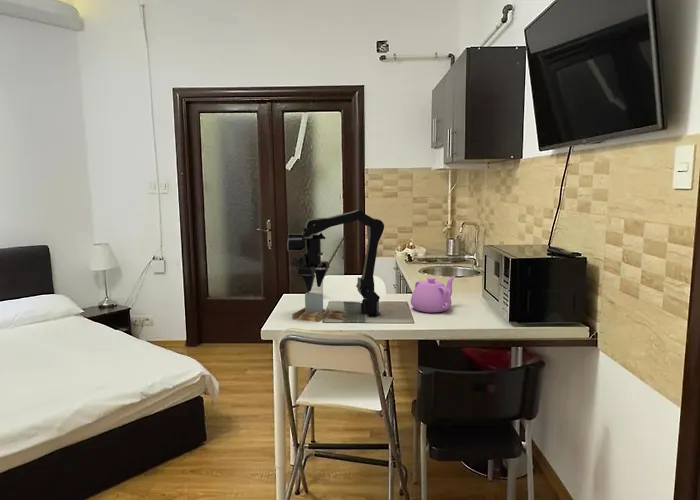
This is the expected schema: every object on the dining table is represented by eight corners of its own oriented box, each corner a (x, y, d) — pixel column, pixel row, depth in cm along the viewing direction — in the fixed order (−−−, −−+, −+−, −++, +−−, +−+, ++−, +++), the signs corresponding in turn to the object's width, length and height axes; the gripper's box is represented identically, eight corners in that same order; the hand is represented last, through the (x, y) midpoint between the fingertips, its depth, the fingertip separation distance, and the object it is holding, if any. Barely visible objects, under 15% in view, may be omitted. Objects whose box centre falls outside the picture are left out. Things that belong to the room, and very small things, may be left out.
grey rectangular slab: (323, 315, 210) (322, 293, 209) (321, 316, 208) (321, 294, 207) (307, 314, 213) (307, 292, 212) (305, 315, 211) (305, 293, 210)
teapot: (471, 311, 221) (472, 279, 219) (431, 317, 210) (432, 284, 208) (437, 301, 240) (438, 271, 238) (399, 306, 229) (399, 275, 227)
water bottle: (326, 298, 244) (325, 245, 241) (315, 301, 240) (314, 247, 237) (314, 295, 251) (313, 244, 247) (303, 298, 246) (302, 245, 243)
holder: (346, 318, 209) (346, 311, 208) (341, 321, 204) (341, 314, 203) (332, 317, 211) (332, 310, 210) (327, 320, 206) (327, 313, 205)
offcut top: (319, 315, 207) (319, 312, 207) (316, 317, 203) (316, 315, 203) (304, 314, 209) (304, 311, 208) (301, 316, 204) (301, 314, 204)
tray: (329, 317, 211) (329, 309, 211) (318, 323, 201) (318, 316, 200) (304, 314, 215) (304, 307, 214) (292, 321, 205) (292, 313, 204)
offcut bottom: (320, 317, 208) (320, 314, 207) (315, 320, 203) (315, 318, 203) (304, 315, 210) (304, 313, 210) (298, 318, 205) (298, 316, 205)
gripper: (305, 246, 219) (305, 283, 221) (284, 252, 201) (285, 292, 203) (329, 247, 215) (330, 285, 217) (310, 253, 198) (311, 294, 200)
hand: (314, 288), depth 209 cm, fingers open, 9 cm apart
